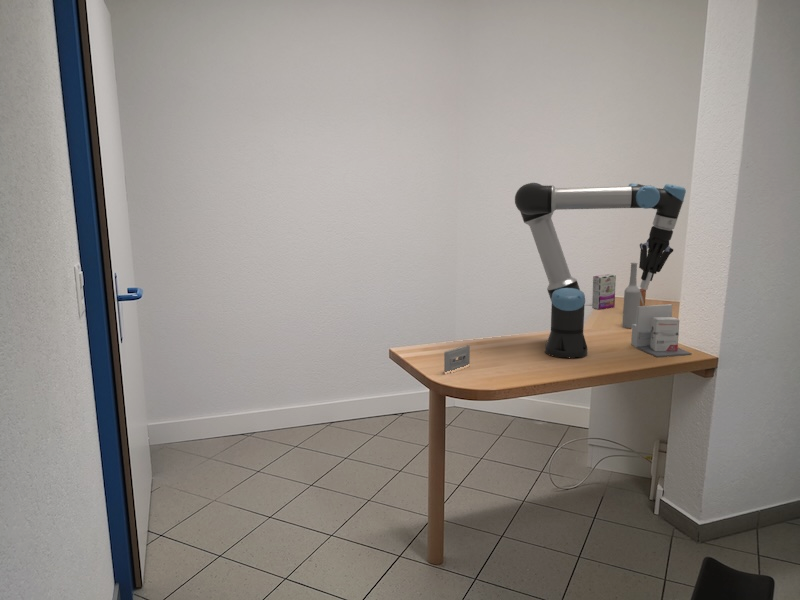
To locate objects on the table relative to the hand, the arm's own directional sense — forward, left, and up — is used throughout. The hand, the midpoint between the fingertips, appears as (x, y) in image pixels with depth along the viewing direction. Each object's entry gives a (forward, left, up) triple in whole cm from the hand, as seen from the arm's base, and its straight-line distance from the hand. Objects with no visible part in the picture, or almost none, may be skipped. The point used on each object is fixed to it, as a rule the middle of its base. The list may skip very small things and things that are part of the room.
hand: (643, 288), depth 223 cm
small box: (+29, +50, -23) cm, 62 cm away
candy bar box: (+23, +67, -23) cm, 74 cm away
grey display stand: (+4, -6, -22) cm, 24 cm away
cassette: (-77, -12, -23) cm, 81 cm away
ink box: (+4, -8, -22) cm, 24 cm away
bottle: (+13, +28, -23) cm, 38 cm away
